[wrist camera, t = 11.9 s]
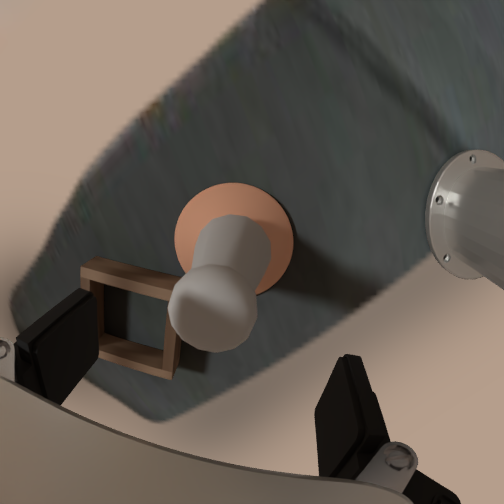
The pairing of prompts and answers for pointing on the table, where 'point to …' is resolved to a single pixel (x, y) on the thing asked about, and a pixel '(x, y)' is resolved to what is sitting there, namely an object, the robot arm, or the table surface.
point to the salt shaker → (221, 284)
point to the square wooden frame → (143, 283)
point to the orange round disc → (244, 204)
